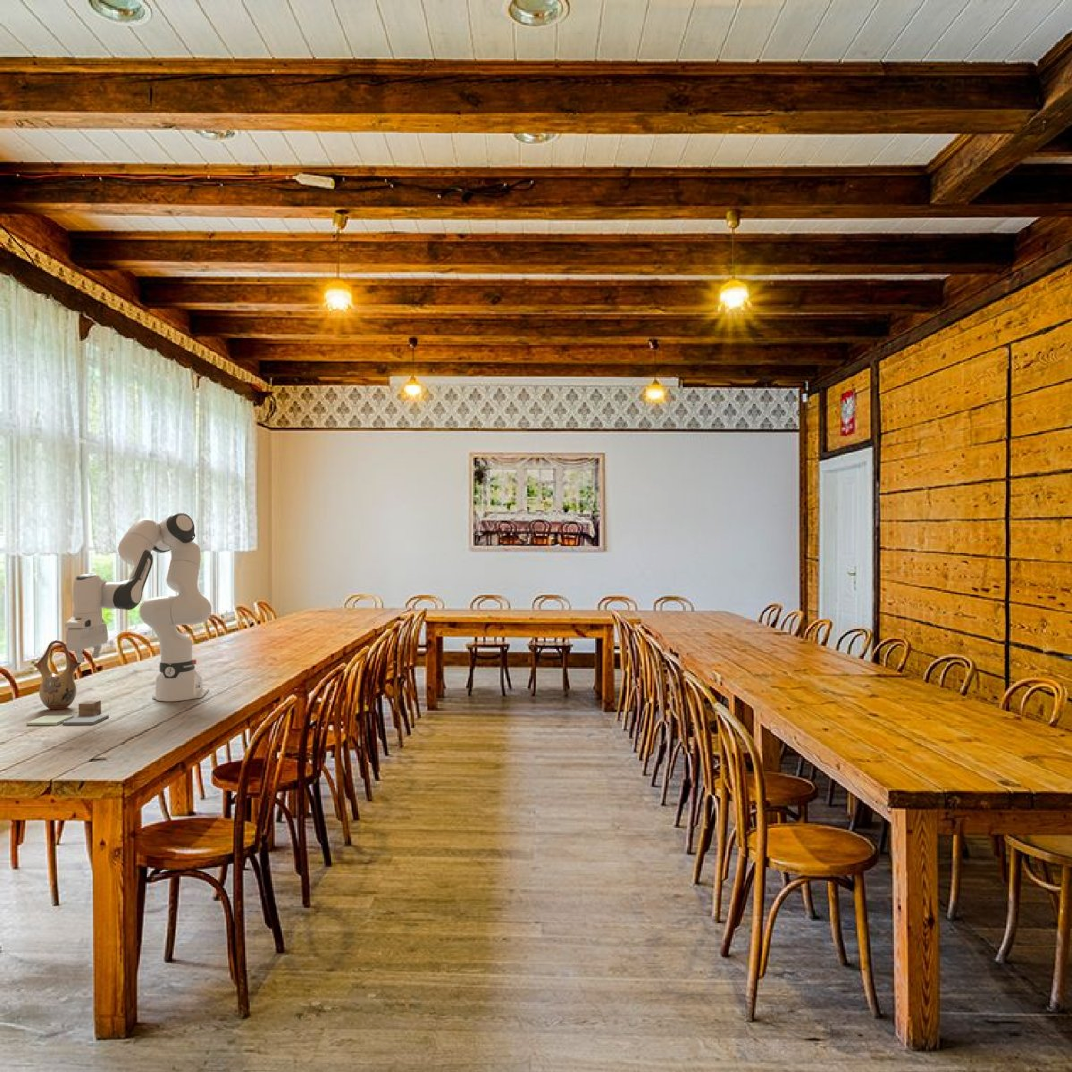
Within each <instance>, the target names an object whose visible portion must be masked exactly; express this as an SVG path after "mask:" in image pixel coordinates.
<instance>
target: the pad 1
mask: <svg viewBox="0 0 1072 1072" xmlns="http://www.w3.org/2000/svg"><path fill="white" fill-rule="evenodd" d="M74 717H75V715H70V714H69V715H68V714H67V715H66V714H65V715H62V714H61V715H43V716H40V717H37V718H35V719H31V720H30V721H28V722H25V726H26V725H54V726H58V725H57V724H59V723H61V722H64V721H67V720H69V719H72V718H74ZM61 724H62V723H61ZM59 725H60V724H59Z"/></svg>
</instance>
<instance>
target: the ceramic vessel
mask: <svg viewBox="0 0 1072 1072" xmlns="http://www.w3.org/2000/svg"><path fill="white" fill-rule="evenodd" d="M55 644H60V646H62V649H63V651H64V656H65V659H66V660H65V661H66V667H65V670H63V671H62V672H60V673H54V672H53V671H52V670H50V668H49V662H48V661H49V657H50V653H51V649H52V648H53V645H55ZM69 652H70V651H68V649H67V647H66V643H64V641H62V640H58V639H57V640H53V641H51V642H50V643H49V644H48V646H47V648H46V650H45V651H44V654H43V655H42V656H41V658H40V659H39V661H38V662H36V663H34V664H33V667H34V668H36V669H37V671H38V672H39V673H40V674H41V683H40V686H39V692H38V693H39V699H40V701H41V702H42V704H43V705H44V706H45V707H46V708H47V709H49V710H51V709H60V710H64V708H65V709H67V708H68V707H69V706H71V705H72V703H73V702H74V700H75V698H76V696H77V685H76V682H75V680H74V674H75V671H76V670H77V669H79V667H80V666H81V665H82V663H78V662H77V659H76V660H75V659H73V658H72V657H71V654H70V653H69Z"/></svg>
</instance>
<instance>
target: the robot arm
mask: <svg viewBox="0 0 1072 1072" xmlns="http://www.w3.org/2000/svg"><path fill="white" fill-rule="evenodd" d="M195 537H196V534H195V524H194V521H193V519H192V518H191V516H190V515H188V514H186V513H184V512H176V513H173V514H171V515H169V516H168V517H166V518H165V519H163V520H162V521H160V522H159V523H157V522H156V521H154V520H152V519H150V518H141V519H138V520H137V521H136V522H135V523H134V524H133V525H132V526H130V528H129V529H128V530H127V532H126V533H125V534H124V536H123V537H122V539H121V540H120V542H119V543H118V547H117V551H118V555H119V556H120V558H121V559H122V560H123V562H125V563H126V564H128V565H130V566H133V568H132V571H131V574H130V575H129V578H127V580H123V581H107V580H104V579H102V578H101V577H100V574H98V573H95V572H93V573H91V572H90V573H83V574H79V575H77V576H76V577H75V578H74V581H73V584H72V601H73V611H72V616H71V617H70V618H69V619H68V620H66V621H65V623H64V628H65V629H66V630H65V631H66V632H65V645H66V647H67V650H68V652H74V655H75V658H76V661H77V662H78V663H81V664H82V663H84V662H85V656H84V655H83V652H84V650H86V649H89V648H93V652H92V653H91V656H92V659H99V658H100V652H101V651H102V650H101V649H102V645H104V644H107V643H108V642H109V641H108V640H109V632H108V626H107V624H106V622H105V620H104V619H103V609H104V610H105V609H107V610H112V609H113V610H122V611H123V610H125V611H132V610H134V609H135V608H136V607H137V606H138V605H139V604H140V603H141V601H142V598H143V592H144V589H145V588H144V587H145V585H146V583H147V581H148V580H147V579H148V577H149V575H150V572H151V570H152V566H153V562H154V557H153V554H152V551H154V552H156V553H159V554H164V553H168V552H170V555H171V556H170V557H171V558H170V562H169V566H168V571H167V575H166V578H165V579H166V580H165V581H166V584H167V587H168V588H169V589H170V590H171V591H174V592H176V593H178V595H175V596H173V595H172V596H171V595H170V596H168V595H167V596H155V597H150V598H145V599H144V601H143V602H142V603H141V605H140V606H139V611H138V612H139V613H138V614H139V617H140V620H141V621H142V622H143V623H144V624H146V625H147V626H148V627H150V629H151V630H152V631H153V632H154V633H155V635H156V637H157V640H158V643H159V651H160V662H159V666H158V668H159V674H158V675H157V676H156V680H155V681H156V682H155V692H154V693H155V694H153V695H152V696H151V699H154V700H156V701H159V702H179V701H189V700H193V699H200V698H201V699H202V698H203V697H204V696H206V694H207V693H208V692H209V691H210V687H203V677H202V676H201V675H200V673H199V672H197V671H196V670H195V668H196V667H195V665H197V659H196V658H195V659H193V642H192V640H191V638H190V637H189V636H188V635H186V634H184V633H182V632H180V631H179V630H178V628H177V626H187V625H188V626H190V625H193V626H194V625H198V624H203V623H206V622H207V621H208V620H209V619H210V618H211V614H212V605H211V602H210V601H209V600H208V599H207V598H206V597H205V596H204V595H202V594H201V592H200V591H199V588H198V580H199V573H200V568H201V555H202V553H201V548H200V546H199V544H197V543H196V542H194V539H195Z"/></svg>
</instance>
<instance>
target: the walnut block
mask: <svg viewBox="0 0 1072 1072" xmlns="http://www.w3.org/2000/svg"><path fill="white" fill-rule="evenodd" d="M100 714H101V715H102V700H99V699H98V700H84V701H82V702H80V703H78V716H79V715H100Z"/></svg>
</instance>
